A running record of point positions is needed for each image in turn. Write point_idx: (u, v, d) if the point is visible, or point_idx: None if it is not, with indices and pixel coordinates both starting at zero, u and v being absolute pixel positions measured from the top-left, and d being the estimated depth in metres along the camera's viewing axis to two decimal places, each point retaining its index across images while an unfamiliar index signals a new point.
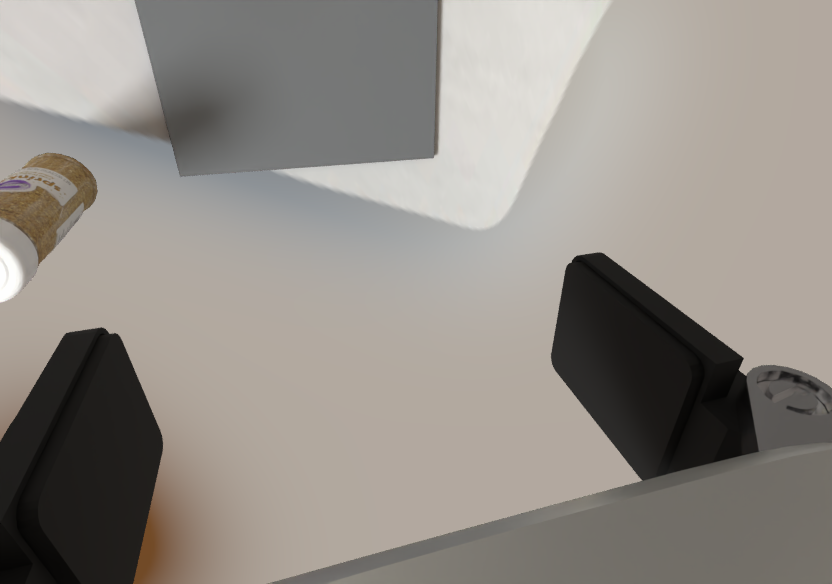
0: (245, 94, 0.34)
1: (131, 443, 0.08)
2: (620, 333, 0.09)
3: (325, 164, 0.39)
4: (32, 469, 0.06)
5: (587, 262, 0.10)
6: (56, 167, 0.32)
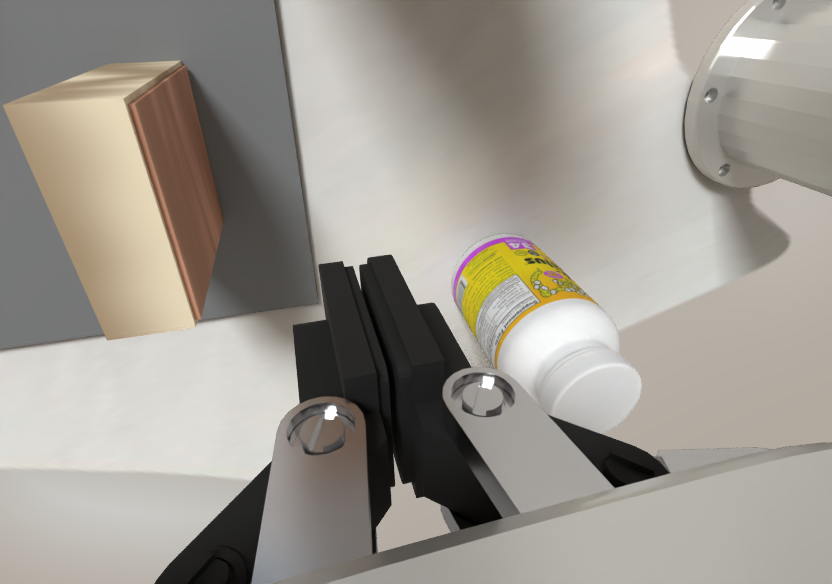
0: None
1: None
2: (378, 335, 0.09)
3: None
4: (368, 345, 0.08)
5: (371, 264, 0.10)
6: None
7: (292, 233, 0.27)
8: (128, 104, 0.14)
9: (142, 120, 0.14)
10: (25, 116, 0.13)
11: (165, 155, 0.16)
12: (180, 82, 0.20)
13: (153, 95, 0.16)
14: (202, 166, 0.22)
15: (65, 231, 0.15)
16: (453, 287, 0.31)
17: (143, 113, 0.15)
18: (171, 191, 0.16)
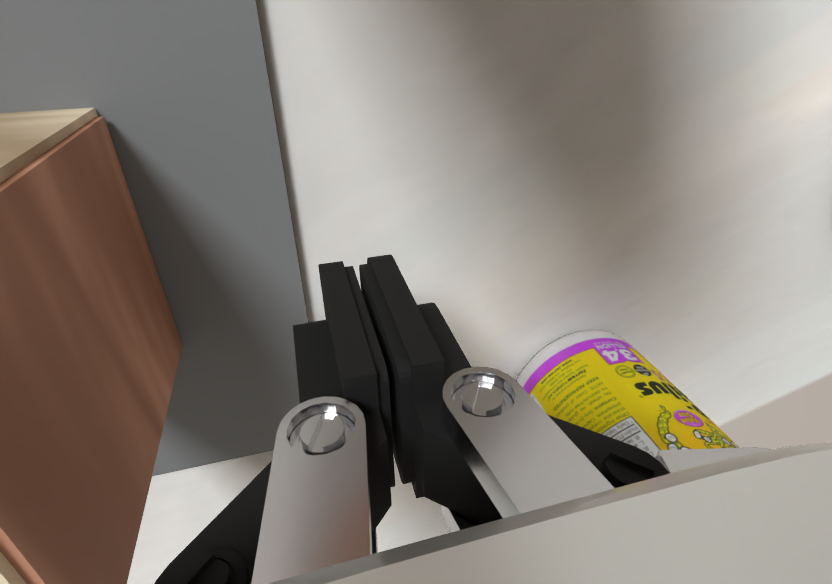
0: None
1: None
2: (378, 335, 0.09)
3: None
4: (368, 345, 0.08)
5: (371, 264, 0.10)
6: None
7: (289, 353, 0.18)
8: None
9: None
10: None
11: (3, 362, 0.07)
12: (83, 154, 0.11)
13: None
14: (135, 287, 0.13)
15: None
16: None
17: None
18: (19, 441, 0.07)
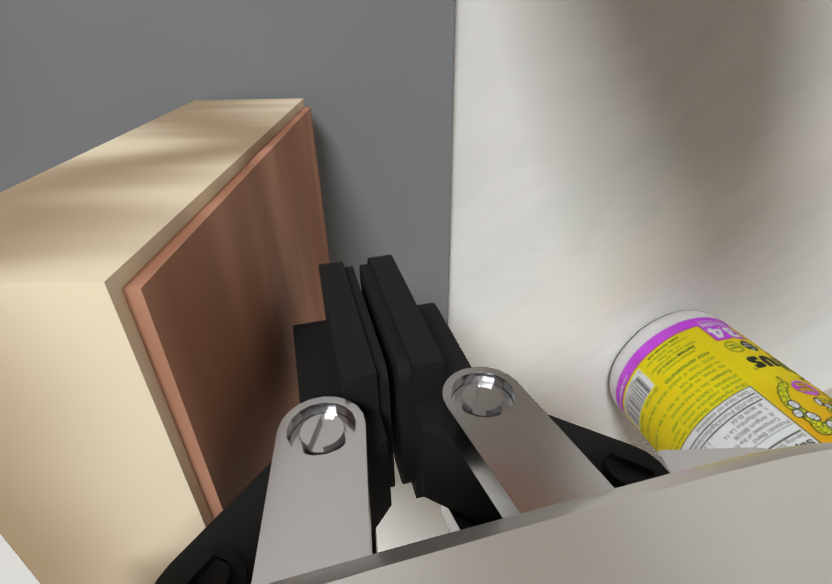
0: None
1: None
2: (378, 334, 0.09)
3: None
4: (368, 345, 0.08)
5: (371, 264, 0.10)
6: None
7: None
8: (125, 287, 0.05)
9: (165, 314, 0.06)
10: None
11: (232, 339, 0.07)
12: (295, 143, 0.11)
13: (221, 213, 0.07)
14: (315, 272, 0.13)
15: None
16: (618, 381, 0.24)
17: (174, 289, 0.06)
18: (236, 416, 0.08)
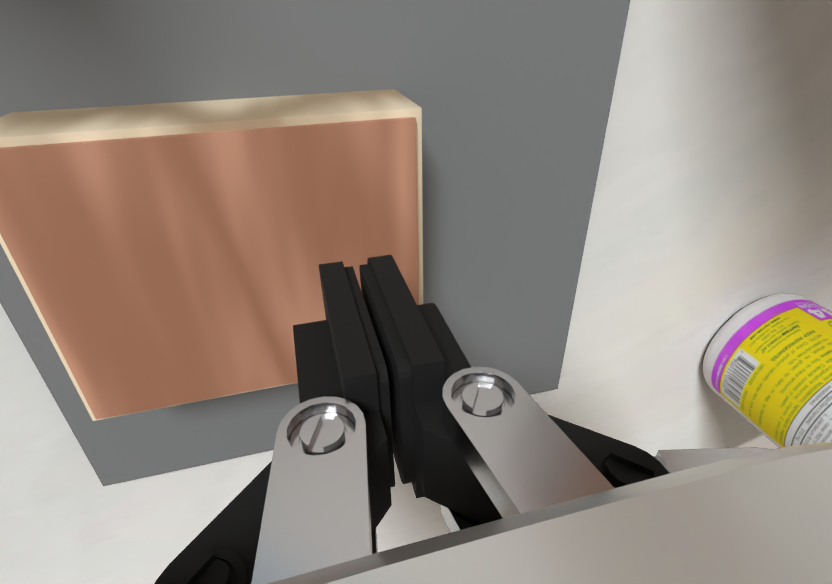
0: (142, 91, 0.13)
1: None
2: (378, 335, 0.09)
3: None
4: (368, 345, 0.08)
5: (371, 264, 0.10)
6: None
7: (555, 307, 0.21)
8: None
9: None
10: None
11: (86, 230, 0.11)
12: (326, 142, 0.12)
13: (89, 149, 0.10)
14: None
15: None
16: (715, 361, 0.25)
17: (1, 168, 0.10)
18: (77, 274, 0.12)
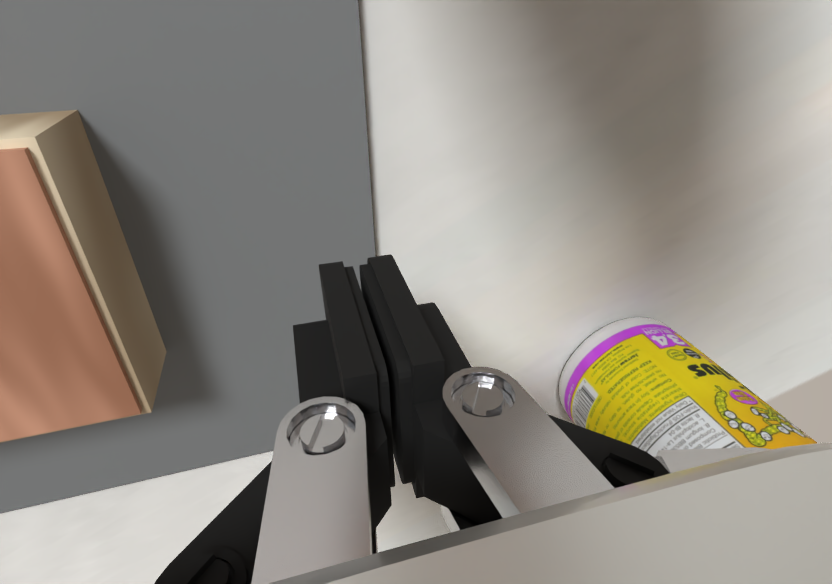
0: None
1: None
2: (378, 334, 0.09)
3: None
4: (368, 345, 0.08)
5: (371, 264, 0.10)
6: None
7: None
8: None
9: None
10: None
11: None
12: None
13: None
14: None
15: None
16: (565, 390, 0.23)
17: None
18: None
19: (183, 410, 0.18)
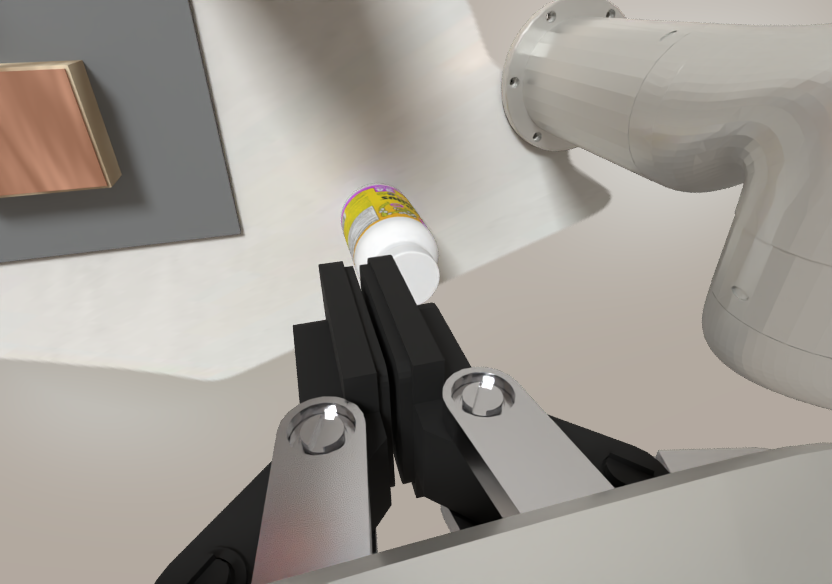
0: None
1: None
2: (378, 335, 0.09)
3: None
4: (368, 345, 0.08)
5: (371, 264, 0.10)
6: None
7: (217, 179, 0.39)
8: None
9: None
10: None
11: None
12: (26, 77, 0.30)
13: None
14: (52, 137, 0.32)
15: None
16: (341, 223, 0.43)
17: None
18: None
19: (131, 208, 0.38)
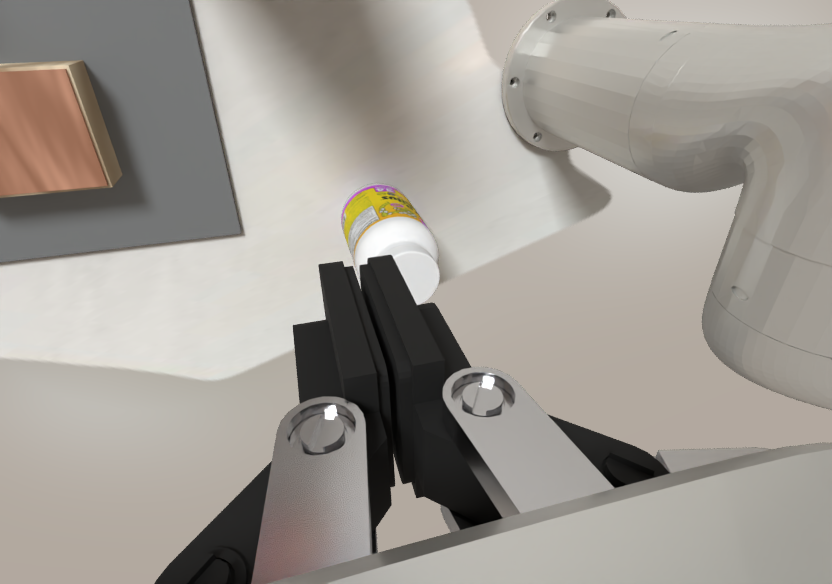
0: None
1: None
2: (378, 335, 0.09)
3: None
4: (368, 345, 0.08)
5: (371, 264, 0.10)
6: None
7: (217, 179, 0.39)
8: None
9: None
10: None
11: None
12: (27, 78, 0.30)
13: None
14: (53, 137, 0.32)
15: None
16: (341, 223, 0.43)
17: None
18: None
19: (131, 208, 0.38)
